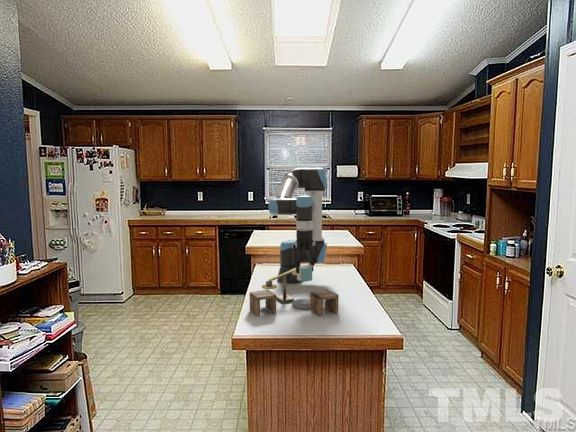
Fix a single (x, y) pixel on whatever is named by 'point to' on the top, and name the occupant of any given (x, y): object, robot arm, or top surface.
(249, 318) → the top surface
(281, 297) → the balance
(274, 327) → the top surface
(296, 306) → the dish
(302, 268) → the block
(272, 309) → the cover
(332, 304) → the cover
